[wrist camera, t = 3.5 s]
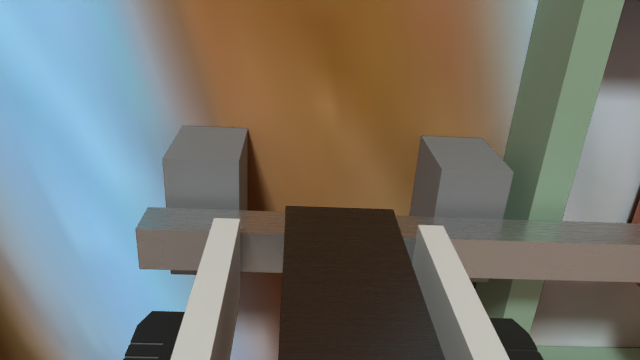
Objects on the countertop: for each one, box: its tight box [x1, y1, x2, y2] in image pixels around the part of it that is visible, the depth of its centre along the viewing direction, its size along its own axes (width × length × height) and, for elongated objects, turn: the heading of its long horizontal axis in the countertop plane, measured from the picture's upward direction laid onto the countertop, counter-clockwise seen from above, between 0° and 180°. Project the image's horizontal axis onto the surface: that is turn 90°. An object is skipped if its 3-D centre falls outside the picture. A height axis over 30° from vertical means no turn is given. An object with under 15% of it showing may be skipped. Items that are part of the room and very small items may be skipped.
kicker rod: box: [136, 200, 640, 360], centre depth 15 cm, size 20×6×12 cm, turn 87°
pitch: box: [163, 0, 640, 360], centre depth 20 cm, size 31×18×3 cm, turn 87°
